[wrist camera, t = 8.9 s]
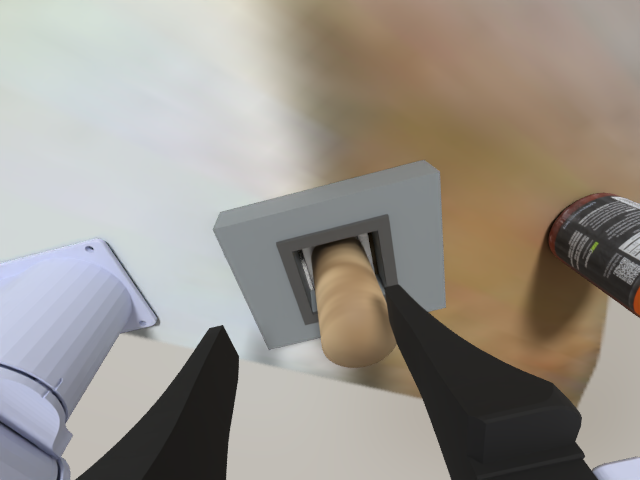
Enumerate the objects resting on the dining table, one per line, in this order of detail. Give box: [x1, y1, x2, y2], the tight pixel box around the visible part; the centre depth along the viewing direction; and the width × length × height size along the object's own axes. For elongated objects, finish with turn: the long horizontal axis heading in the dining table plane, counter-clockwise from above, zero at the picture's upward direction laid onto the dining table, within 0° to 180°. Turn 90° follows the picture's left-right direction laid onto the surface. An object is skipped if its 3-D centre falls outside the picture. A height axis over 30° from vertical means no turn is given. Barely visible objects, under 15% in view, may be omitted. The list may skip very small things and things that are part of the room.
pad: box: [302, 233, 375, 290], centre depth 24 cm, size 5×5×1 cm
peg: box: [311, 237, 397, 368], centre depth 20 cm, size 4×4×8 cm
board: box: [213, 160, 446, 350], centre depth 23 cm, size 14×11×3 cm
